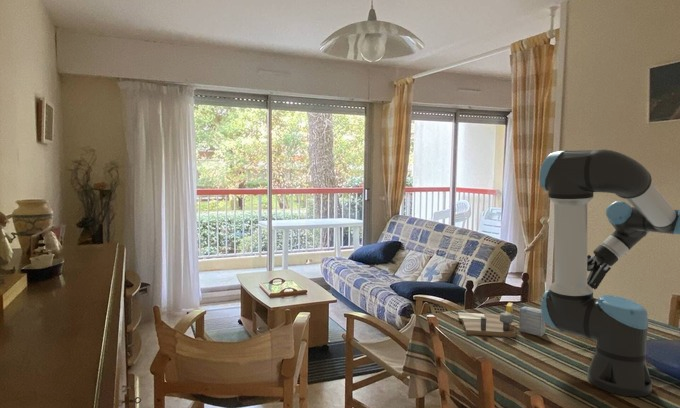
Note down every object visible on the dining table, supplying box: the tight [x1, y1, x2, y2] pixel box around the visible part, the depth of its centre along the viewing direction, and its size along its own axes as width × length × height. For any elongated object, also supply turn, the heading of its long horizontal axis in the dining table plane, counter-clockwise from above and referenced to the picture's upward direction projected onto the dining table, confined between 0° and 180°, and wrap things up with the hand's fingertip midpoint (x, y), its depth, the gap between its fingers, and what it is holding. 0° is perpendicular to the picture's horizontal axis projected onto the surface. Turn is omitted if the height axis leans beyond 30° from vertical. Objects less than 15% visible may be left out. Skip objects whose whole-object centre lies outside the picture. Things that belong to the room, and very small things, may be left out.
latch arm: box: [499, 302, 514, 326], centre depth 164 cm, size 12×4×7 cm, turn 151°
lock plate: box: [457, 311, 517, 338], centre depth 170 cm, size 20×18×6 cm
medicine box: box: [518, 305, 546, 337], centre depth 163 cm, size 8×4×9 cm, turn 47°
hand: (564, 293), depth 161 cm, fingers open, 13 cm apart
